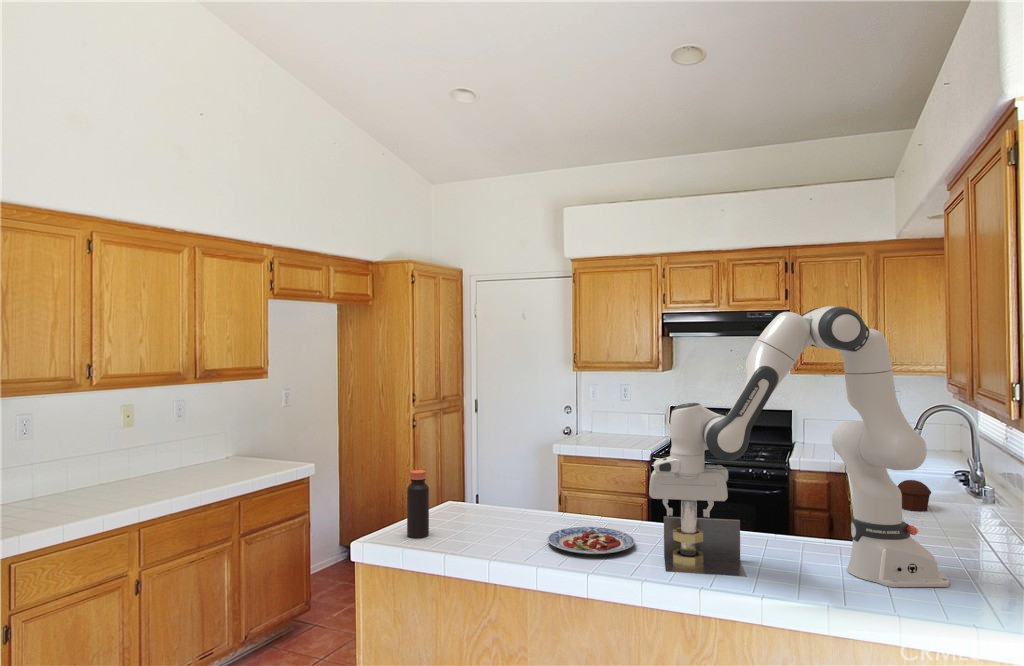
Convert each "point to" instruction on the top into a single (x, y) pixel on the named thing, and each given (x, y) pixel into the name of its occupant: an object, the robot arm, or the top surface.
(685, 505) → the grey metal rod
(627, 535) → the ceramic plate
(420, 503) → the bottle
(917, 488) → the muffin
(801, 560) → the top surface
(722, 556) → the collar stand
